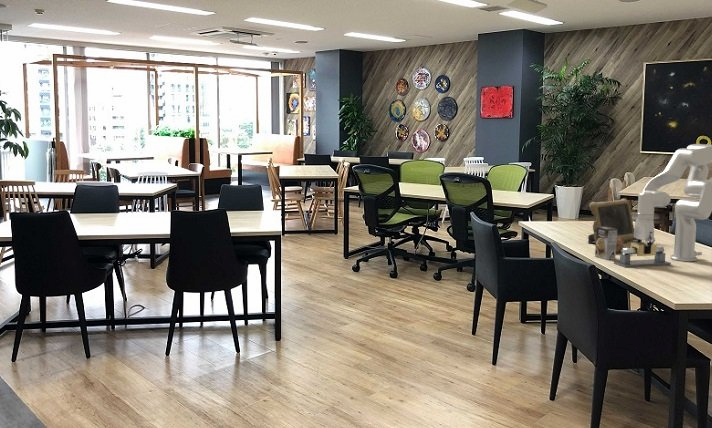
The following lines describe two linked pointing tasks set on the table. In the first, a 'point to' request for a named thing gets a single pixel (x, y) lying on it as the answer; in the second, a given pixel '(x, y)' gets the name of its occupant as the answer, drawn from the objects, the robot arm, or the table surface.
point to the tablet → (613, 218)
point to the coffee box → (606, 243)
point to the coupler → (643, 249)
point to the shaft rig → (627, 262)
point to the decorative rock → (619, 244)
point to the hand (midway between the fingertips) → (643, 252)
